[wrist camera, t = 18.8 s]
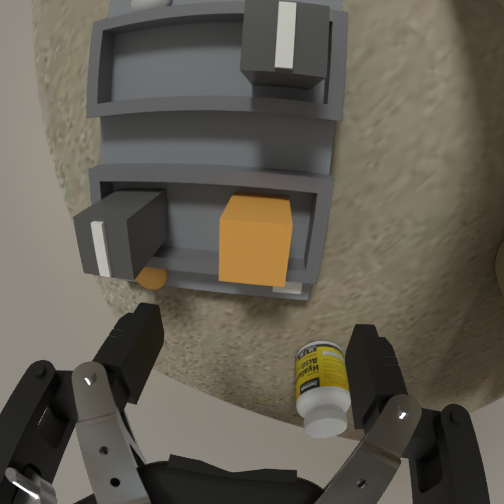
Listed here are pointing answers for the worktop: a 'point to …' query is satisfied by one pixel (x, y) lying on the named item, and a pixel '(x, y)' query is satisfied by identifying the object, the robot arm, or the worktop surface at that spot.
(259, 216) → the block
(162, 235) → the knob tagged
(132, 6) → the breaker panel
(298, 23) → the knob
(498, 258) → the plant pot
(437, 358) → the worktop surface
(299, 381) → the supplement bottle
